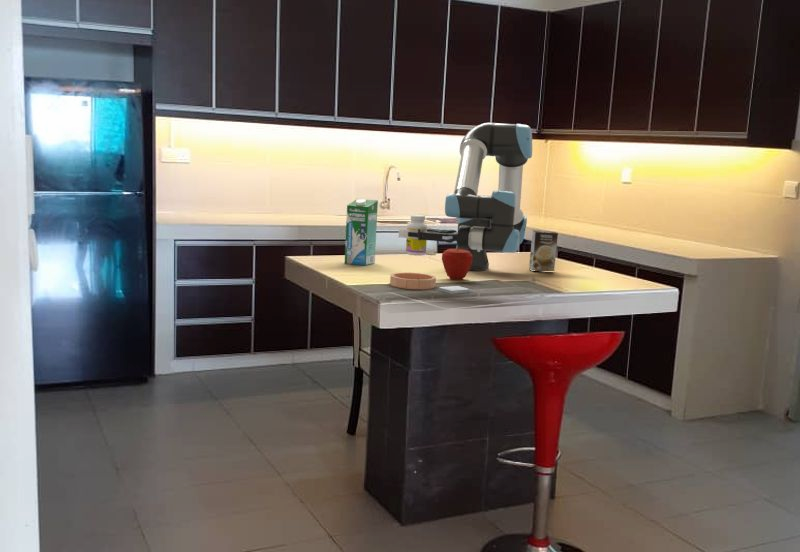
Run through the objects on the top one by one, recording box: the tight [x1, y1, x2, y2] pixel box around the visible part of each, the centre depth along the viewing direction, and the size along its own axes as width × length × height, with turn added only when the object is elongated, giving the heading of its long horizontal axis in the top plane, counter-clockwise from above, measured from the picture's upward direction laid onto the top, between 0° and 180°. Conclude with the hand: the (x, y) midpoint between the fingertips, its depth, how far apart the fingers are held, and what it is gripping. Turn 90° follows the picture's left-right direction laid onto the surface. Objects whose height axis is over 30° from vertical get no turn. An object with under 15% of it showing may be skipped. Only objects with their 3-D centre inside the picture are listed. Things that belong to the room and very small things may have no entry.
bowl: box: [389, 272, 437, 290], centre depth 256 cm, size 15×15×4 cm
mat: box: [430, 288, 477, 296], centre depth 249 cm, size 12×9×1 cm
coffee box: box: [528, 230, 559, 272], centre depth 308 cm, size 9×6×16 cm
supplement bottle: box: [405, 214, 428, 257], centre depth 253 cm, size 7×7×13 cm
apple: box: [441, 248, 473, 281], centre depth 274 cm, size 11×11×12 cm
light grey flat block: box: [438, 285, 471, 295], centre depth 249 cm, size 8×6×1 cm
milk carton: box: [344, 198, 379, 266], centre depth 302 cm, size 9×9×25 cm
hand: (402, 232), depth 255 cm, fingers closed on supplement bottle, 7 cm apart
